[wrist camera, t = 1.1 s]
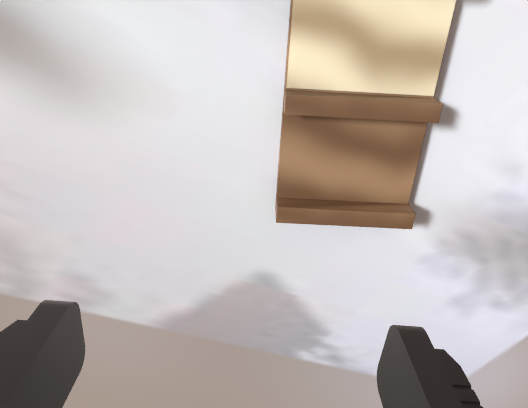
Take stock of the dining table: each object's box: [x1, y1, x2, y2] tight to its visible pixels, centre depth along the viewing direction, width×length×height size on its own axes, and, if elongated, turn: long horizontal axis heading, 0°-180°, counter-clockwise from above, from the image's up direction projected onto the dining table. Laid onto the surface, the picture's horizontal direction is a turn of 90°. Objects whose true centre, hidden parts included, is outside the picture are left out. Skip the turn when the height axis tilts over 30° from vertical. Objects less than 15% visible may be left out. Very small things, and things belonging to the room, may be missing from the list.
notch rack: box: [275, 0, 456, 229], centre depth 30 cm, size 30×12×3 cm, turn 177°
